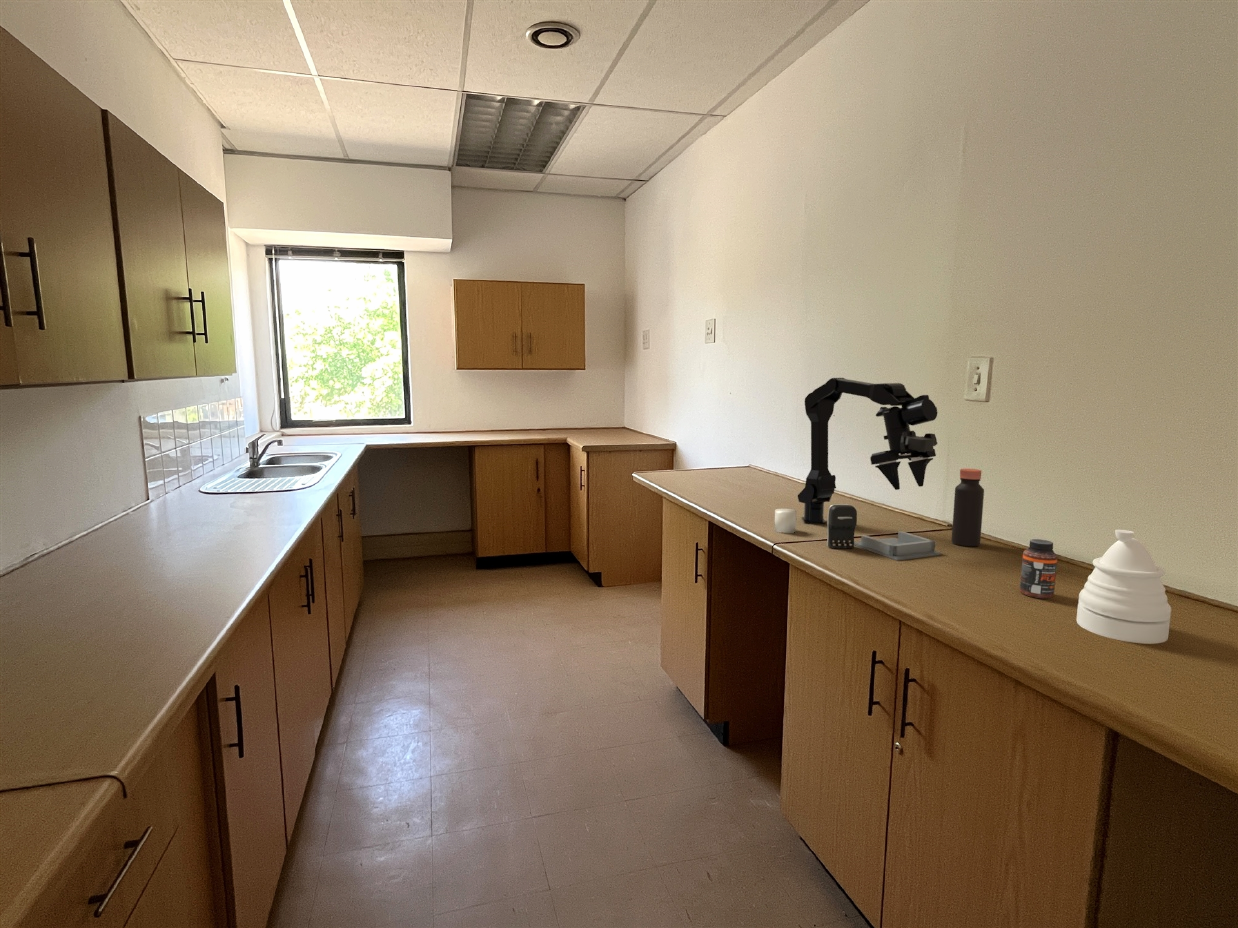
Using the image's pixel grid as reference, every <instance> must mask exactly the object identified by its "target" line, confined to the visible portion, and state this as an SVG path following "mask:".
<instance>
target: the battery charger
mask: <svg viewBox="0 0 1238 928" xmlns="http://www.w3.org/2000/svg"><path fill="white" fill-rule="evenodd" d="M857 522H858V511H857V509H856V507H854V505H852V504H845V503H844V504H843V503H841V504H840V503H839V504H837V503H836V504H831V505H830V506H829V507H828V509H827V521H826V524H827V525H826V526H827V541H826V546H827V547H829V548H831V549H840V550H841V549H844V550H845V549H846V550H847V549H853V548H854V547H855V545H854V542H855V531H856V527H857V526H858V525H857Z"/></svg>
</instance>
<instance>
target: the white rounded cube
mask: <svg viewBox="0 0 1238 928" xmlns="http://www.w3.org/2000/svg"><path fill="white" fill-rule="evenodd" d="M796 531H797V510H796V509H793V508H776V509H774V532H775V533H779V532H783V533H782V534H795V533H796ZM794 532H795V533H794Z"/></svg>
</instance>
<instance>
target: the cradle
mask: <svg viewBox="0 0 1238 928" xmlns="http://www.w3.org/2000/svg"><path fill="white" fill-rule="evenodd" d="M897 532H898V533H897V534H898V535H897V537H888V538H880V539H877V538H875V537H872V536H868V535H861V540H860V541H854V547H855V546H856V547H858V548H861V549H863V550H866V551H870V552H873V553H875V554H878V555H880V556H883V557H885V558H889V559H891V560H894V561H897V562H898V561H904V560H914V559H919V558H928V557H935V556H941V555H942V552H941V551H938V550H935V549H936V541H935V540H932V539H929V538H926V537H923V536H919V535H915V534H913V533H908V532H906V531H902V530H901V531H897Z"/></svg>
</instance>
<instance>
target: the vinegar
mask: <svg viewBox="0 0 1238 928" xmlns="http://www.w3.org/2000/svg"><path fill="white" fill-rule="evenodd" d="M959 479H960V482H959V484H958V485H956V486H955V488H954V498H953V499H954V500H953V515H952V530H951V543H952V544H954V545H956V546H961V547H965V548H966V547H967V548H968V547H969V548H971V547H972V548H976V547H979V546H980V545H981V538H982V537H981V535H982V524H983V513H984V512H983V511H984V500H985V499H984V496H985V489H984V487H982V486H981V484H980V482H981V479H982V470H981V469H976V468H960V470H959Z"/></svg>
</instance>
